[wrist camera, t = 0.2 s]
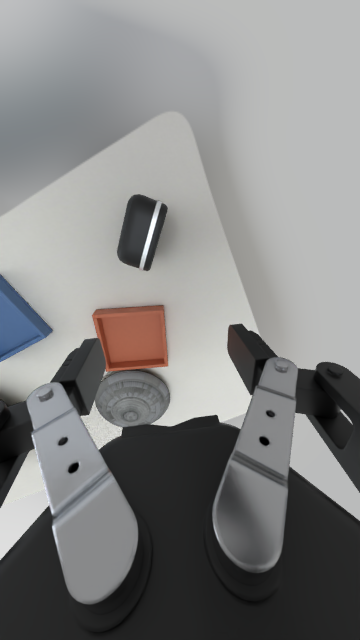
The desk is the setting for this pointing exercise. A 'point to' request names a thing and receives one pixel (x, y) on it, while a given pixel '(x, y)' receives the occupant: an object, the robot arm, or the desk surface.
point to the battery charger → (141, 231)
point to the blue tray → (18, 322)
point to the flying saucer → (132, 398)
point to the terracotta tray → (132, 337)
